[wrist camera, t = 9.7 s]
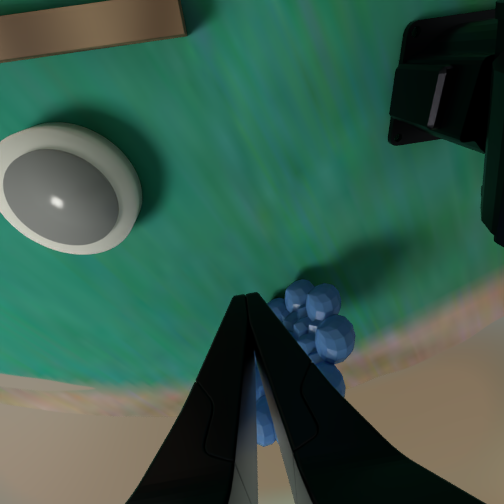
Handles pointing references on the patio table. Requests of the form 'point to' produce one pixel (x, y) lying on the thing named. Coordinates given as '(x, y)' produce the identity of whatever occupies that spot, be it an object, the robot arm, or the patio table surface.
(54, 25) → the display bay
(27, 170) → the push light
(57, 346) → the patio table surface
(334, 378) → the grapes
